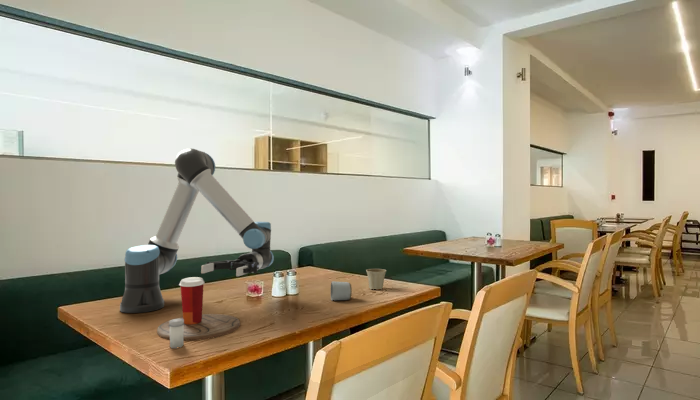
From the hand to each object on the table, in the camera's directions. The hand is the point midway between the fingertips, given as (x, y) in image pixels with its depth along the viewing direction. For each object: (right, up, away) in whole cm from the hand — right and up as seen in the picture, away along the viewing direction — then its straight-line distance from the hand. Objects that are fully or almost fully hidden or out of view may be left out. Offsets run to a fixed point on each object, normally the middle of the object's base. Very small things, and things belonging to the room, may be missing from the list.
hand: (219, 270), depth 147 cm
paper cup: (-7, -16, -7) cm, 18 cm away
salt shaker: (-4, -17, -27) cm, 32 cm away
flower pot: (+57, -17, +50) cm, 78 cm away
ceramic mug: (+41, -17, +30) cm, 53 cm away
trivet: (-3, -18, -10) cm, 20 cm away
